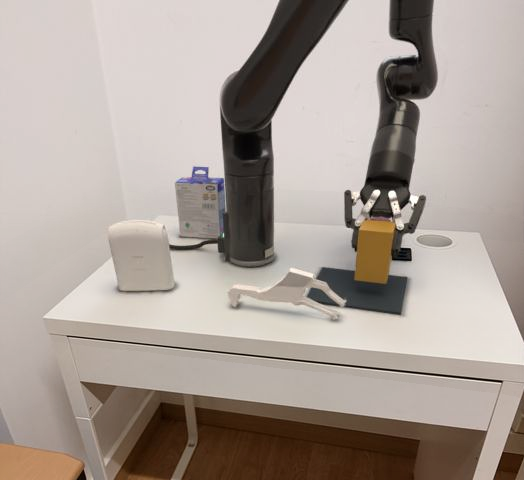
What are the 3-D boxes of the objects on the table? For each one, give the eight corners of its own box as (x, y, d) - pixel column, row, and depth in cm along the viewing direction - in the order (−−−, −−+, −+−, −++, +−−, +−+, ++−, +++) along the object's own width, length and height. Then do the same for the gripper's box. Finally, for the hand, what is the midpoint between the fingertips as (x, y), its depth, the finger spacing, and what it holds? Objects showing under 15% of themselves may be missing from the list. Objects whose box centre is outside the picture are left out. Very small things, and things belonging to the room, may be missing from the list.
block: (354, 280, 82) (358, 229, 77) (358, 268, 86) (363, 219, 81) (386, 284, 81) (393, 232, 76) (389, 272, 85) (396, 222, 80)
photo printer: (115, 292, 86) (101, 225, 79) (121, 282, 90) (108, 217, 83) (172, 292, 86) (163, 225, 79) (176, 281, 89) (168, 216, 82)
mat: (304, 301, 82) (305, 299, 82) (322, 268, 93) (322, 266, 93) (400, 314, 78) (400, 312, 78) (407, 279, 89) (407, 277, 89)
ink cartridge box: (228, 231, 111) (224, 166, 103) (221, 239, 107) (217, 172, 99) (187, 228, 113) (181, 164, 105) (179, 237, 109) (172, 170, 101)
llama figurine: (320, 344, 82) (227, 297, 82) (351, 292, 75) (249, 240, 75) (318, 350, 81) (223, 302, 81) (350, 297, 74) (246, 245, 74)
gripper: (348, 146, 81) (329, 238, 79) (436, 150, 78) (420, 247, 75) (351, 171, 89) (334, 256, 86) (432, 175, 85) (417, 265, 82)
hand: (374, 251), depth 80 cm, fingers closed on block, 5 cm apart
